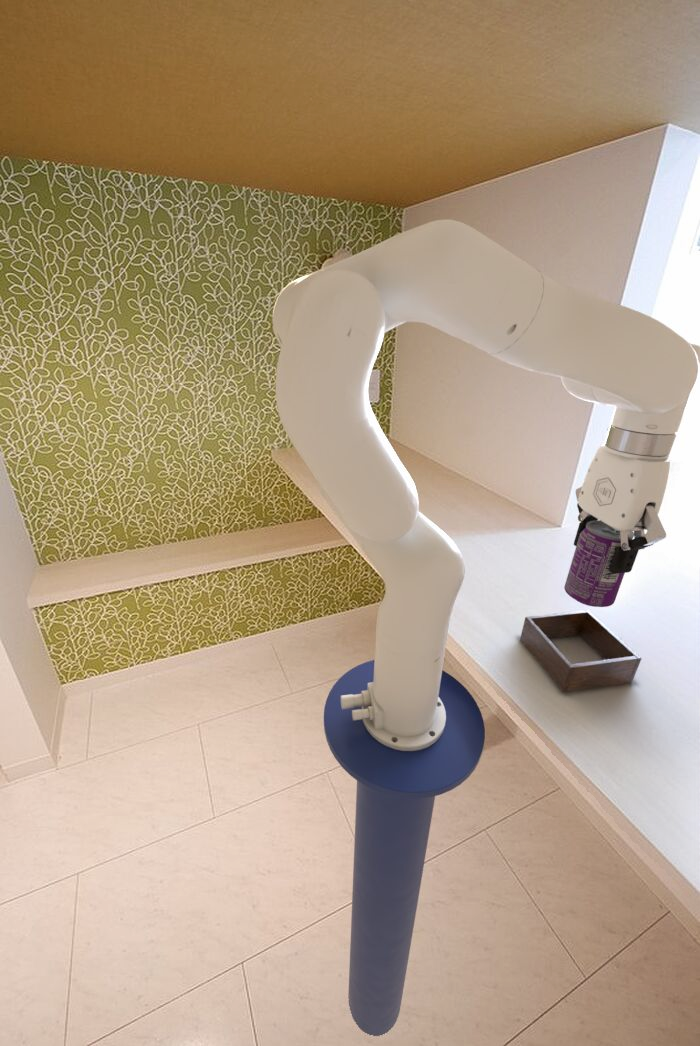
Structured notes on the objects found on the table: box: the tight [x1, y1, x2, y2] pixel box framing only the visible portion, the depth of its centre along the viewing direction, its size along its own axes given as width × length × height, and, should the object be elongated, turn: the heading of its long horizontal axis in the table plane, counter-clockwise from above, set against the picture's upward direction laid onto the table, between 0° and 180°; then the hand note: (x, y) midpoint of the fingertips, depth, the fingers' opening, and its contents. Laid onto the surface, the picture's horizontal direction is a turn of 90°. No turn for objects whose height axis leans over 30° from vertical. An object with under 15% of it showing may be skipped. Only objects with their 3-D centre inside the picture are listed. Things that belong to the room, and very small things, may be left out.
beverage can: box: [564, 520, 634, 608], centre depth 66 cm, size 7×7×12 cm
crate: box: [519, 609, 642, 693], centre depth 72 cm, size 12×12×5 cm
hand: (600, 557), depth 65 cm, fingers closed on beverage can, 7 cm apart
